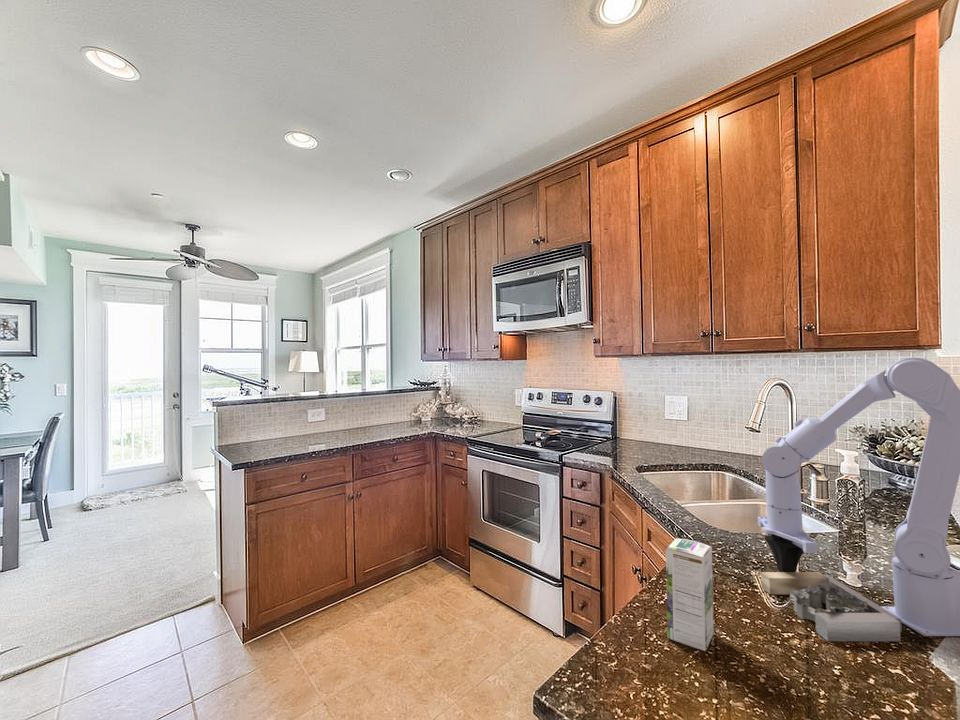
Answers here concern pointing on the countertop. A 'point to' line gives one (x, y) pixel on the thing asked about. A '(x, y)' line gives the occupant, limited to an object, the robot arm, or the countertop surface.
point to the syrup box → (689, 593)
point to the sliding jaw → (790, 581)
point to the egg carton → (824, 601)
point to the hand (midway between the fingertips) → (787, 575)
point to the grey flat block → (858, 622)
